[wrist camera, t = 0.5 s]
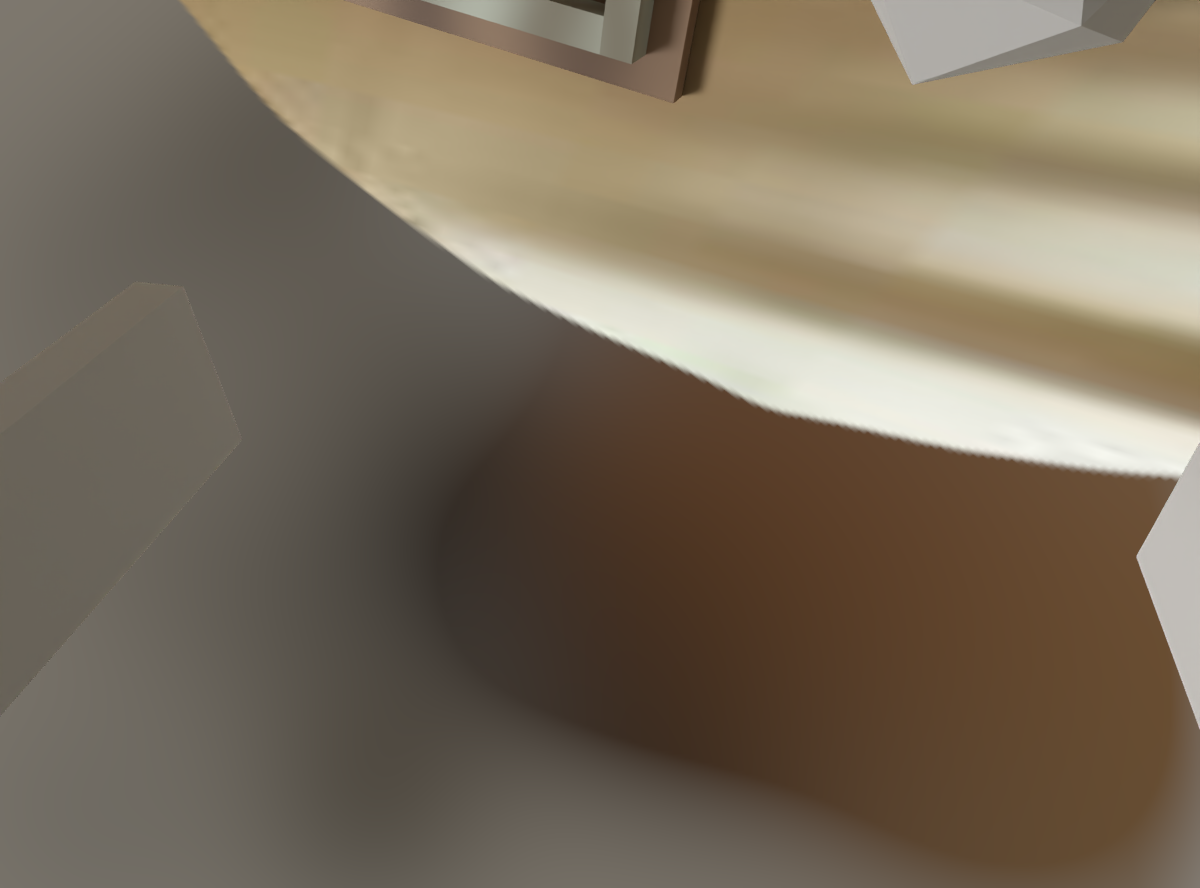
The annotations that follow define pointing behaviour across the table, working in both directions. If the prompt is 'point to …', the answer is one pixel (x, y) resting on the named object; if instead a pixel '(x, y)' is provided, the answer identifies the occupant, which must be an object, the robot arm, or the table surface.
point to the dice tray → (574, 35)
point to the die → (999, 31)
